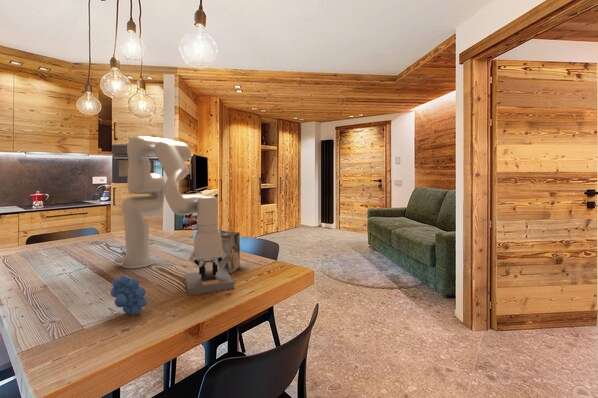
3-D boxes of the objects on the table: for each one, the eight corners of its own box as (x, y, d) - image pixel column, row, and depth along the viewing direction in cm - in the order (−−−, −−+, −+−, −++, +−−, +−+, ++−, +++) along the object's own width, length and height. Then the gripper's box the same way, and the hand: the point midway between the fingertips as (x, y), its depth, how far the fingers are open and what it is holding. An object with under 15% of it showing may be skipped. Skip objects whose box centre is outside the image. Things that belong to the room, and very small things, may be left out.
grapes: (100, 319, 85) (98, 279, 83) (118, 308, 91) (116, 271, 90) (136, 322, 83) (134, 282, 82) (151, 311, 89) (150, 273, 88)
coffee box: (227, 265, 134) (227, 231, 133) (240, 266, 133) (240, 232, 131) (218, 272, 125) (217, 235, 124) (231, 273, 124) (231, 236, 122)
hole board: (188, 295, 101) (188, 288, 101) (185, 280, 115) (184, 273, 115) (234, 288, 108) (234, 281, 108) (225, 274, 122) (225, 268, 122)
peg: (203, 280, 109) (203, 262, 108) (202, 276, 112) (202, 259, 112) (214, 278, 111) (214, 261, 110) (213, 275, 114) (212, 258, 114)
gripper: (184, 232, 103) (186, 281, 104) (232, 228, 110) (232, 275, 112) (183, 228, 109) (184, 275, 111) (227, 225, 117) (228, 269, 118)
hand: (208, 274), depth 111 cm, fingers closed on peg, 4 cm apart
